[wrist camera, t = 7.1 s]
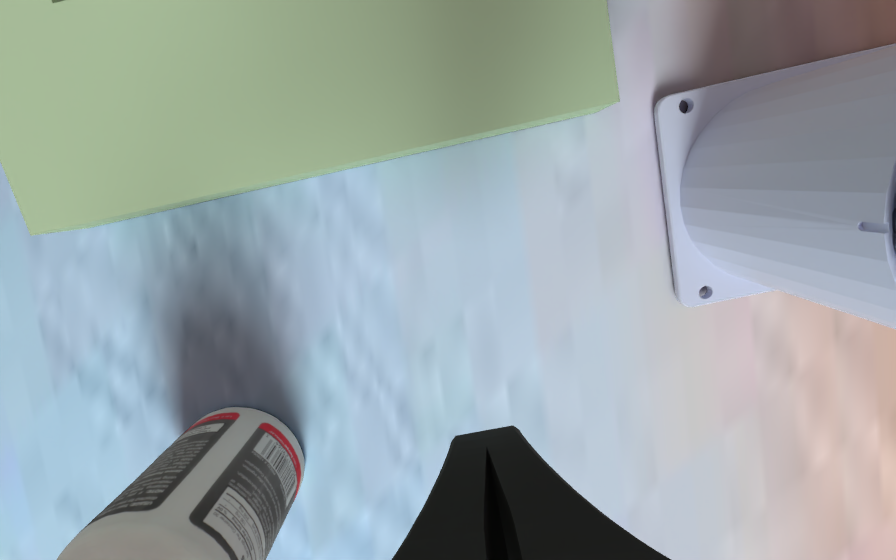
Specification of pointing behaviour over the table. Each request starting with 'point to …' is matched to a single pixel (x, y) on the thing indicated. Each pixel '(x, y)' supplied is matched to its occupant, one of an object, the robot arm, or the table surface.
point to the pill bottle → (203, 495)
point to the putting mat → (270, 92)
